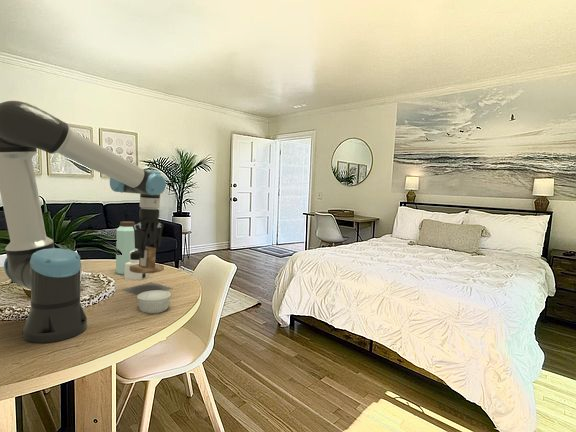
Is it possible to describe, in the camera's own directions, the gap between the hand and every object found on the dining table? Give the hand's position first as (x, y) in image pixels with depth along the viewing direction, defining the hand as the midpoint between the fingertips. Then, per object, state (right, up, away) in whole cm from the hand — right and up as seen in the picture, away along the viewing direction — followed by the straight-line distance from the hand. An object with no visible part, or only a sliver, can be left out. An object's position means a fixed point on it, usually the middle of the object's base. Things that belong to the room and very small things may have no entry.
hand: (147, 264), depth 134 cm
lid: (0, -2, 0) cm, 2 cm away
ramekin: (+10, -13, -18) cm, 25 cm away
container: (-12, -9, +17) cm, 23 cm away
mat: (0, -11, +1) cm, 11 cm away
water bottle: (-21, -8, +25) cm, 34 cm away
